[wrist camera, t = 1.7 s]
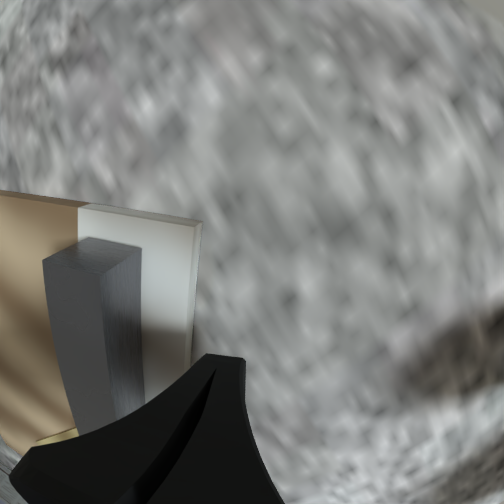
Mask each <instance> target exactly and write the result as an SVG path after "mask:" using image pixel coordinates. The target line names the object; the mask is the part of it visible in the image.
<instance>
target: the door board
mask: <svg viewBox="0 0 504 504" xmlns="http://www.w3.org/2000/svg"><path fill="white" fill-rule="evenodd" d="M202 222H203V221H198V220H192V219H186V218H180V217H174V216H168V215H162V214H156V213H150V212H144V211H138V210H132V209H125V208H119V207H113V206H106V205H100V204H93V203H87V202H80V201H74V200H67V199H60V198H53V197H46V196H39V195H32V194H25V193H18V192H11V191H3V190H0V434H1V436H2V438H3V440H4V441H5V443H6V445H8V446H9V447H10V448H12V449H13V450H15V451H16V452H18V453H19V454H21V455H22V456H24V455H25V454H26V452H27V451H28V450H29V449H30V448H31V447H33V446H39V445H45V444H50V443H55V442H59V441H63V440H67V439H71V438H74V437H77V436H79V434H78V431H77V428H76V425H75V422H74V419H73V416H72V412H71V409H70V406H69V403H68V399H67V396H66V392H65V388H64V385H63V381H62V377H61V373H60V369H59V365H58V360H57V356H56V351H55V347H54V342H53V337H52V331H51V326H50V320H49V314H48V307H47V301H46V293H45V285H44V276H43V266H42V260H43V259H45V258H47V257H49V256H51V255H53V254H55V253H57V252H59V251H61V250H63V249H65V248H67V247H69V246H71V245H73V244H75V243H77V242H79V241H81V240H84V239H86V238H88V237H91V238H96V239H100V240H105V241H110V242H115V243H119V244H124V245H129V246H134V247H139V248H142V263H141V333H142V360H143V378H144V392H145V404H146V403H148V402H149V401H150V400H152V399H153V398H154V397H156V396H157V395H159V394H160V393H161V392H163V391H164V390H165V389H167V388H168V387H169V386H170V385H171V384H173V383H174V382H175V381H176V380H177V379H178V378H180V377H181V376H182V375H183V374H184V373H185V372H186V371H188V370H189V369H190V364H191V348H192V333H193V319H194V306H195V294H196V282H197V271H198V261H199V251H200V241H201V231H202Z"/></svg>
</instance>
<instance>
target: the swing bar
mask: <svg viewBox="0 0 504 504" xmlns="http://www.w3.org/2000/svg"><path fill="white" fill-rule="evenodd" d="M141 263H142V248H139V247H134V246H129V245H124V244H119V243H115V242H110V241H105V240H100V239H96V238H91V237H88V238H86V239H84V240H81V241H79V242H77V243H75V244H73V245H71V246H69V247H67V248H65V249H63V250H61V251H59V252H57V253H55V254H53V255H51V256H49V257H47V258H45V259H43V260H42V266H43V276H44V285H45V293H46V301H47V307H48V314H49V320H50V326H51V331H52V337H53V342H54V347H55V351H56V356H57V360H58V365H59V369H60V373H61V377H62V381H63V385H64V388H65V392H66V396H67V399H68V403H69V406H70V409H71V412H72V416H73V419H74V422H75V425H76V428H77V431H78V434H79V436H80V435H83V434H86V433H89V432H92V431H94V430H97V429H99V428H102V427H104V426H106V425H108V424H110V423H113V422H115V421H117V420H119V419H121V418H123V417H125V416H127V415H128V414H130V413H132V412H133V411H135V410H137V409H138V408H140V407H142V406H143V405H145V392H144V378H143V360H142V333H141Z"/></svg>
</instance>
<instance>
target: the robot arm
mask: <svg viewBox="0 0 504 504" xmlns="http://www.w3.org/2000/svg"><path fill="white" fill-rule="evenodd" d="M245 377H246V361H245V360H244V359H243V358H239V357H231V356H222V355H215V354H207V353H206V354H205V355H204V356H203V357H201V358H200V359H199V360H198V361H197V362H196V363H195V364H194V365H193V366H192V367H191V368H190V369H189V370H188V371H186V372H185V373H184V374H183V375H182V376H181V377H180V378H178V379H177V380H176V381H175V382H174V383H173V384H171V385H170V386H169V387H168V388H167V389H165V390H164V391H163V392H161V393H160V394H159V395H157V396H156V397H154V398H153V399H152V400H150V401H149V402H148V403H146V404H145V405H143V406H142V407H140V408H138V409H137V410H135V411H133V412H132V413H130V414H128V415H127V416H125V417H123V418H121V419H119V420H117V421H115V422H113V423H110V424H108V425H106V426H104V427H102V428H99V429H97V430H94V431H92V432H89V433H86V434H83V435H80V436H77V437H74V438H71V439H67V440H63V441H59V442H55V443H50V444H45V445H39V446H33V447H31V448H30V449H29V450H28V451H27V452H26V454H25V455H24V456H23V457H22V459H21V460H20V461H19V463H18V464H17V465H16V466H15V468H14V469H13V470H12V472H11V473H10V474H9V481H10V483H11V485H12V486H13V487H14V489H15V490H16V491H17V492H18V493H19V494H20V496H21V497H22V498H23V499H24V500H25V501H26V502H27V503H28V504H285V503H284V501H283V500H282V498H281V497H280V495H279V493H278V491H277V489H276V488H275V486H274V484H273V482H272V480H271V478H270V476H269V474H268V472H267V469H266V467H265V465H264V463H263V461H262V458H261V456H260V453H259V451H258V448H257V445H256V442H255V439H254V436H253V433H252V430H251V426H250V422H249V418H248V414H247V409H246V404H245ZM0 504H6V503H5V502H3V501H2V500H1V499H0Z"/></svg>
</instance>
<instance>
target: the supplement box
mask: <svg viewBox="0 0 504 504" xmlns="http://www.w3.org/2000/svg"><path fill="white" fill-rule="evenodd" d="M11 472H12V471H10V470H9V469H8V468H6V467H5V466H4V465H2V464H1V463H0V499H1V500H2V501H3V502H5V503H6V504H28V503H27V502H26V501H25V500H24V499H23V498H22V497H21V496H20V494H19V493H18V492H17V491H16V490H15V489H14V487H13V486H12V485H11V483H10V481H9V474H10V473H11Z"/></svg>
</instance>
